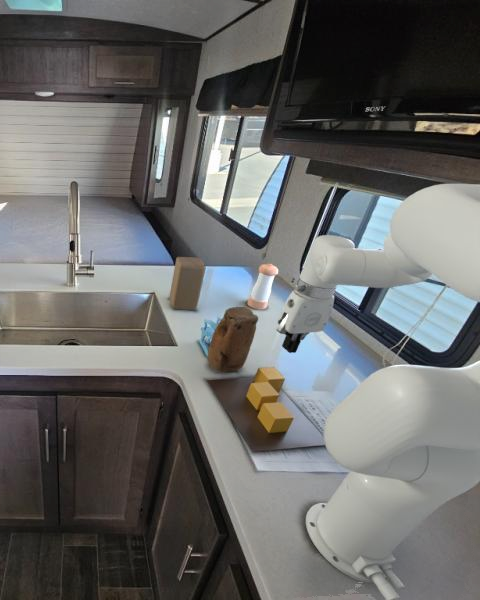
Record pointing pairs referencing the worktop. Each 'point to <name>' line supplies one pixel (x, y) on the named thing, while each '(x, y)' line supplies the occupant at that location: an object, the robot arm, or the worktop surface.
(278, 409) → the ochre block
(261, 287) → the pepper shaker
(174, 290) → the wooden block
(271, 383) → the ochre block
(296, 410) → the mat
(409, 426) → the robot arm
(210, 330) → the light blue crumpled piece
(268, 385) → the ochre block
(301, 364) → the worktop surface
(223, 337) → the brown rounded lump
